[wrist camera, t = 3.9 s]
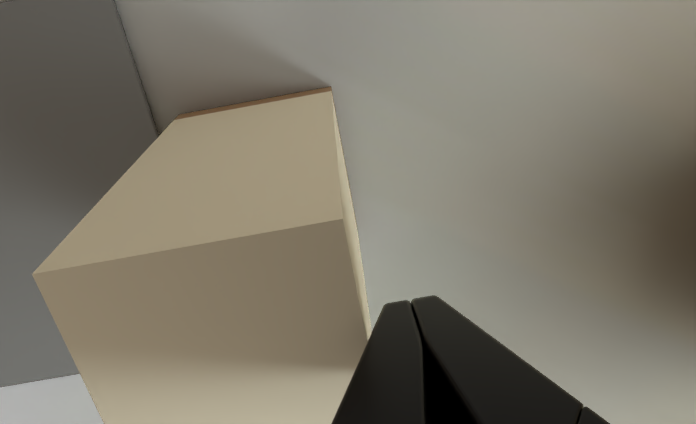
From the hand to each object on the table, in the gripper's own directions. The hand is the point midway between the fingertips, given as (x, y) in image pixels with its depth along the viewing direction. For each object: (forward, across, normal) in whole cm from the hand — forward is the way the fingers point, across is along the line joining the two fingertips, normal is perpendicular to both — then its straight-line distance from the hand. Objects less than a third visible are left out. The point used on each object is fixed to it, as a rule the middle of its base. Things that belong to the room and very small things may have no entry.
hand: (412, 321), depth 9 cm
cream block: (+9, +3, 0) cm, 9 cm away
